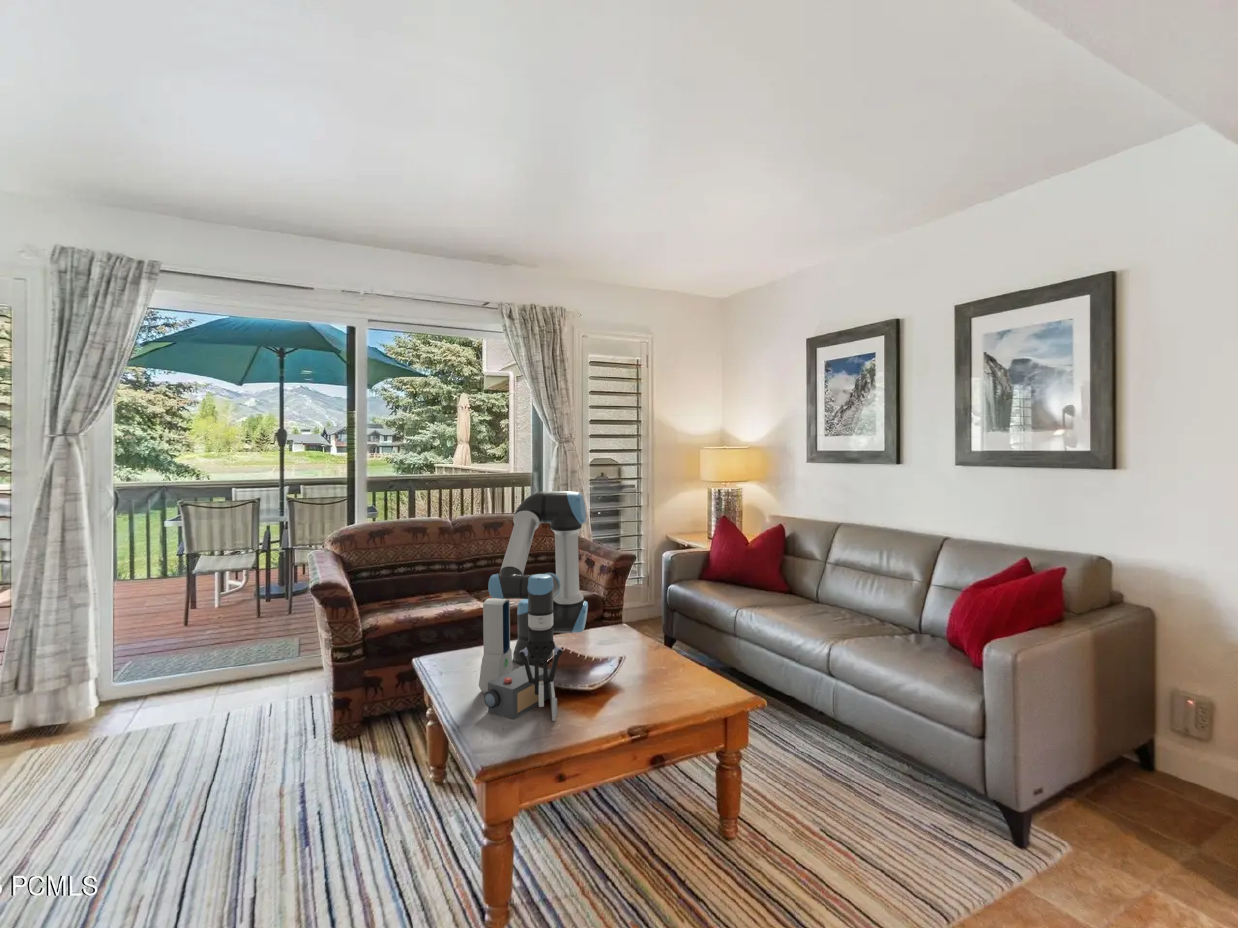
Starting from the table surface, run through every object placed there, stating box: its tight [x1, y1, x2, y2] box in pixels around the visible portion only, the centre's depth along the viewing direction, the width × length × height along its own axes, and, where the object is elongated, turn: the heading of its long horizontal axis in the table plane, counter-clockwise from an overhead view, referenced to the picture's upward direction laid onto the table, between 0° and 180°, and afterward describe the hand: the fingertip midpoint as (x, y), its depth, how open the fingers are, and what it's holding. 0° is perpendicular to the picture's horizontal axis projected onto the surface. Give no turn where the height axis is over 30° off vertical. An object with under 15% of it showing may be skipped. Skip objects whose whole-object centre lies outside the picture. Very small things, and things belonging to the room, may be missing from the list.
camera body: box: [483, 665, 551, 720], centre depth 190 cm, size 20×10×10 cm, turn 149°
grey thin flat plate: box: [549, 679, 558, 722], centre depth 188 cm, size 17×2×7 cm, turn 9°
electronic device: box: [478, 597, 513, 694], centre depth 204 cm, size 12×8×30 cm, turn 168°
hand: (541, 704), depth 183 cm, fingers closed
